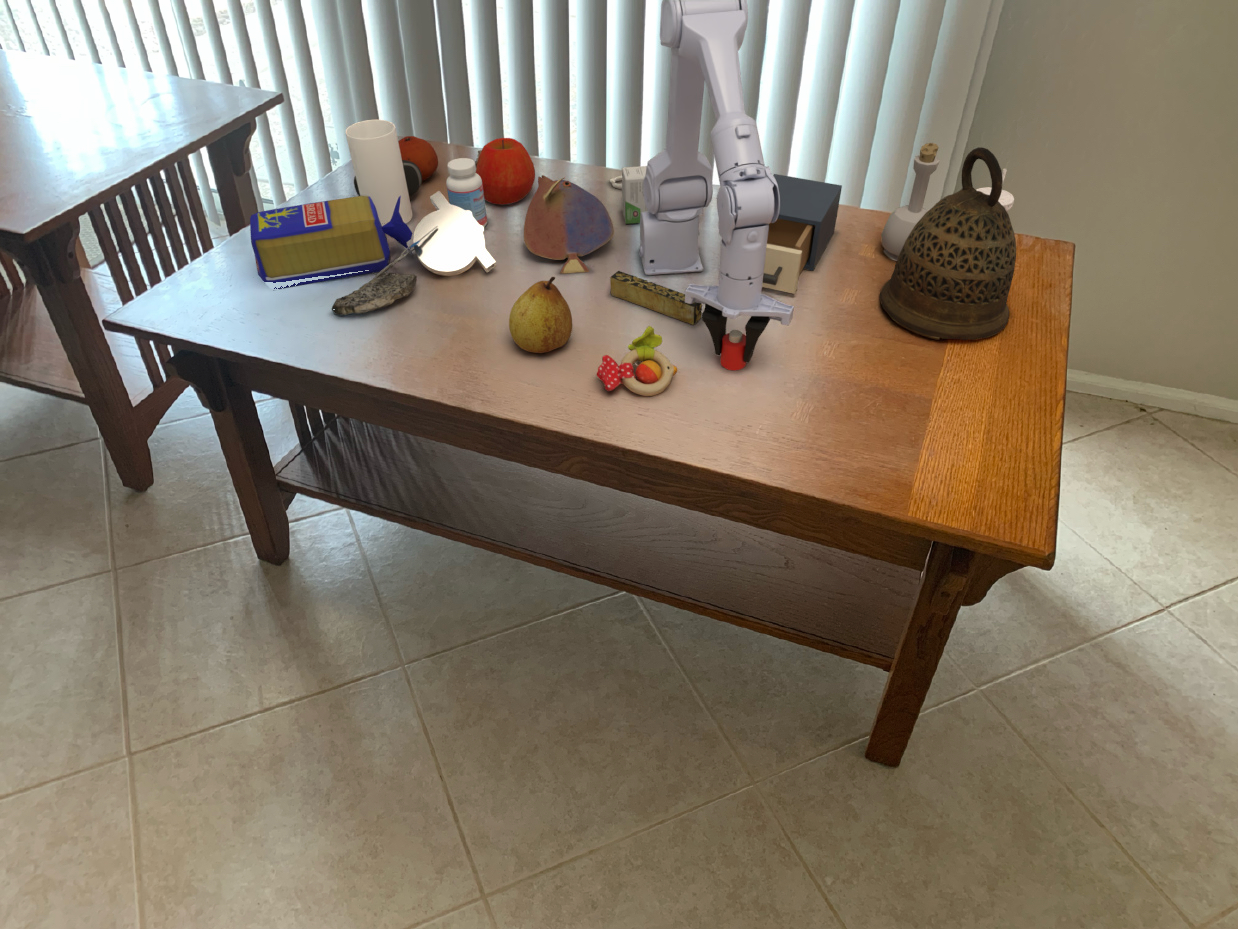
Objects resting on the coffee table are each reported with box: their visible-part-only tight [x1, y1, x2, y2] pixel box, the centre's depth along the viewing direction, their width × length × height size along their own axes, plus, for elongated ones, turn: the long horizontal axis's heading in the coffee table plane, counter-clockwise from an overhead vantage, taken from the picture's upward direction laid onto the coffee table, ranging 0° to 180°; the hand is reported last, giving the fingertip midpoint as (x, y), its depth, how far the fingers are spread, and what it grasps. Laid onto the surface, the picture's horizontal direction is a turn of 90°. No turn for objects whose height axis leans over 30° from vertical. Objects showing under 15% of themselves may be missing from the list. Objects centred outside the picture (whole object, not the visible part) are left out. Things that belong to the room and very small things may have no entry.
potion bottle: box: [880, 142, 940, 262], centre depth 136 cm, size 9×9×18 cm
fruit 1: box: [398, 135, 439, 182], centre depth 163 cm, size 9×9×8 cm
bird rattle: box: [595, 325, 678, 397], centre depth 116 cm, size 6×11×9 cm
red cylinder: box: [720, 329, 747, 371], centre depth 119 cm, size 4×4×5 cm
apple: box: [476, 137, 536, 206], centre depth 155 cm, size 11×11×11 cm
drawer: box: [762, 218, 815, 295], centre depth 134 cm, size 17×10×7 cm, turn 156°
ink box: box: [621, 165, 648, 225], centre depth 150 cm, size 8×5×12 cm
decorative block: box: [609, 270, 703, 326], centre depth 130 cm, size 15×2×4 cm, turn 55°
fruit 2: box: [508, 276, 573, 354], centre depth 121 cm, size 9×9×12 cm
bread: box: [249, 195, 414, 290], centre depth 138 cm, size 10×25×10 cm, turn 108°
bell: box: [879, 146, 1017, 341], centre depth 122 cm, size 19×26×20 cm
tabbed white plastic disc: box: [412, 190, 497, 277], centre depth 139 cm, size 15×8×11 cm
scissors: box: [374, 226, 438, 278], centre depth 137 cm, size 14×8×1 cm
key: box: [609, 175, 622, 190], centre depth 161 cm, size 12×1×4 cm
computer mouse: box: [353, 160, 423, 198], centre depth 156 cm, size 7×12×4 cm
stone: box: [331, 271, 417, 316], centre depth 133 cm, size 14×8×3 cm, turn 143°
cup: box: [345, 119, 414, 226], centre depth 149 cm, size 8×8×16 cm
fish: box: [523, 174, 615, 275], centre depth 142 cm, size 20×12×15 cm
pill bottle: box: [445, 157, 488, 228], centre depth 148 cm, size 6×6×11 cm
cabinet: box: [772, 173, 843, 272], centre depth 142 cm, size 14×12×9 cm
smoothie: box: [976, 168, 1015, 213], centre depth 137 cm, size 6×6×14 cm
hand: (733, 354), depth 120 cm, fingers closed on red cylinder, 3 cm apart
